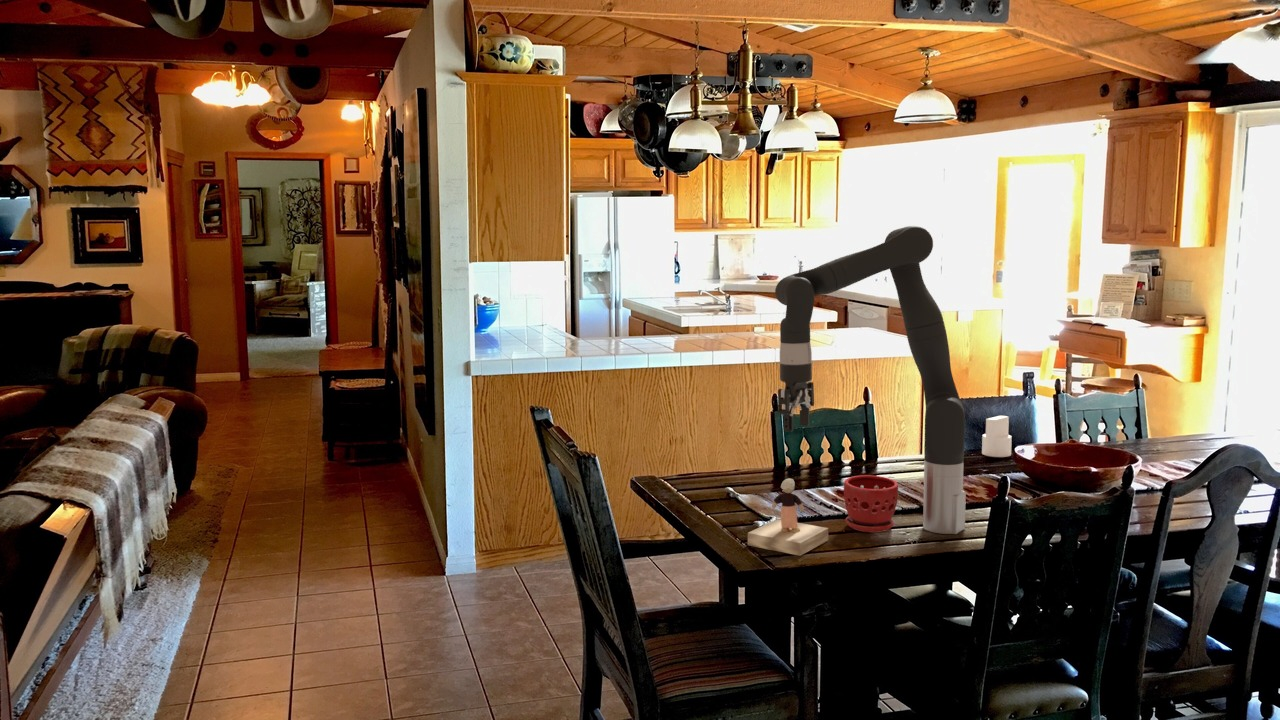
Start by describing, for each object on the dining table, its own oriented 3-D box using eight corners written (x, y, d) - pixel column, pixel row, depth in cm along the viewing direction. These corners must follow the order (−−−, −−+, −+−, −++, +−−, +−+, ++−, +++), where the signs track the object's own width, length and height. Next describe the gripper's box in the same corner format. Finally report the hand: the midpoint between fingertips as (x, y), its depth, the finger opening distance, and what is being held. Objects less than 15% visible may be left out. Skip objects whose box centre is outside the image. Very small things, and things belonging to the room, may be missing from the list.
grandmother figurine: (804, 528, 245) (804, 477, 243) (804, 533, 241) (804, 481, 239) (771, 527, 246) (771, 476, 244) (771, 532, 242) (771, 480, 241)
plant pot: (833, 528, 255) (833, 481, 253) (862, 517, 264) (863, 472, 262) (878, 539, 245) (879, 490, 244) (907, 527, 255) (908, 480, 253)
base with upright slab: (991, 449, 340) (992, 414, 338) (1016, 454, 333) (1017, 417, 331) (976, 453, 334) (977, 417, 332) (1001, 458, 327) (1002, 421, 326)
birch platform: (828, 540, 245) (828, 528, 245) (800, 555, 234) (800, 543, 234) (777, 530, 254) (777, 519, 253) (747, 545, 243) (747, 532, 242)
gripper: (796, 365, 234) (797, 435, 236) (823, 358, 246) (824, 424, 248) (767, 364, 238) (768, 432, 240) (795, 356, 250) (796, 422, 252)
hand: (796, 428), depth 244 cm, fingers open, 8 cm apart
